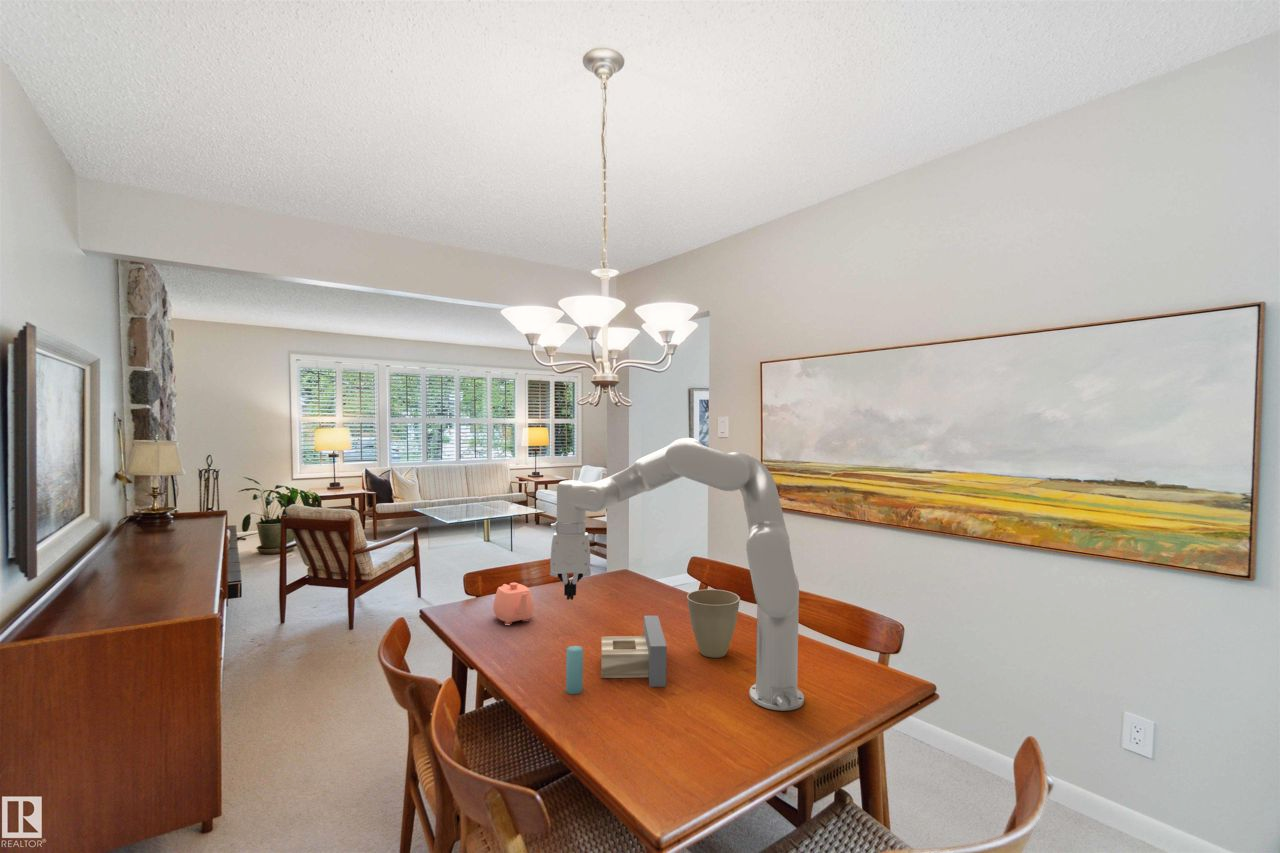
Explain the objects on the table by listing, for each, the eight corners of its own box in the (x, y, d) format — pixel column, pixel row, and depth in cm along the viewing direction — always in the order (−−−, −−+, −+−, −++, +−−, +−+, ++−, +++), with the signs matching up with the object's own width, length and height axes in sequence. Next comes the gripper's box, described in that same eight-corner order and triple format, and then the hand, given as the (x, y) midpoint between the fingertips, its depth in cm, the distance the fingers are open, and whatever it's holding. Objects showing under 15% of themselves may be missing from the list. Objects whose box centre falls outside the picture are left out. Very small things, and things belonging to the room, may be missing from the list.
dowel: (582, 694, 134) (582, 652, 134) (565, 694, 134) (565, 652, 134) (582, 686, 138) (583, 645, 138) (566, 686, 138) (566, 645, 138)
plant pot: (724, 639, 169) (724, 587, 169) (748, 659, 155) (749, 602, 155) (678, 645, 164) (678, 591, 164) (699, 666, 150) (700, 607, 150)
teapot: (485, 615, 188) (486, 579, 188) (519, 608, 195) (519, 574, 195) (508, 633, 172) (509, 594, 172) (544, 626, 178) (544, 588, 178)
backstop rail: (666, 686, 138) (666, 646, 138) (650, 686, 138) (650, 646, 138) (657, 650, 160) (657, 615, 160) (643, 650, 160) (643, 615, 160)
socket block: (648, 677, 143) (648, 653, 143) (601, 678, 142) (601, 654, 142) (644, 657, 155) (645, 636, 155) (601, 658, 154) (601, 636, 154)
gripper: (540, 530, 142) (539, 603, 143) (599, 530, 143) (598, 602, 143) (543, 525, 150) (543, 594, 150) (599, 525, 151) (599, 593, 151)
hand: (570, 598), depth 147 cm, fingers closed
